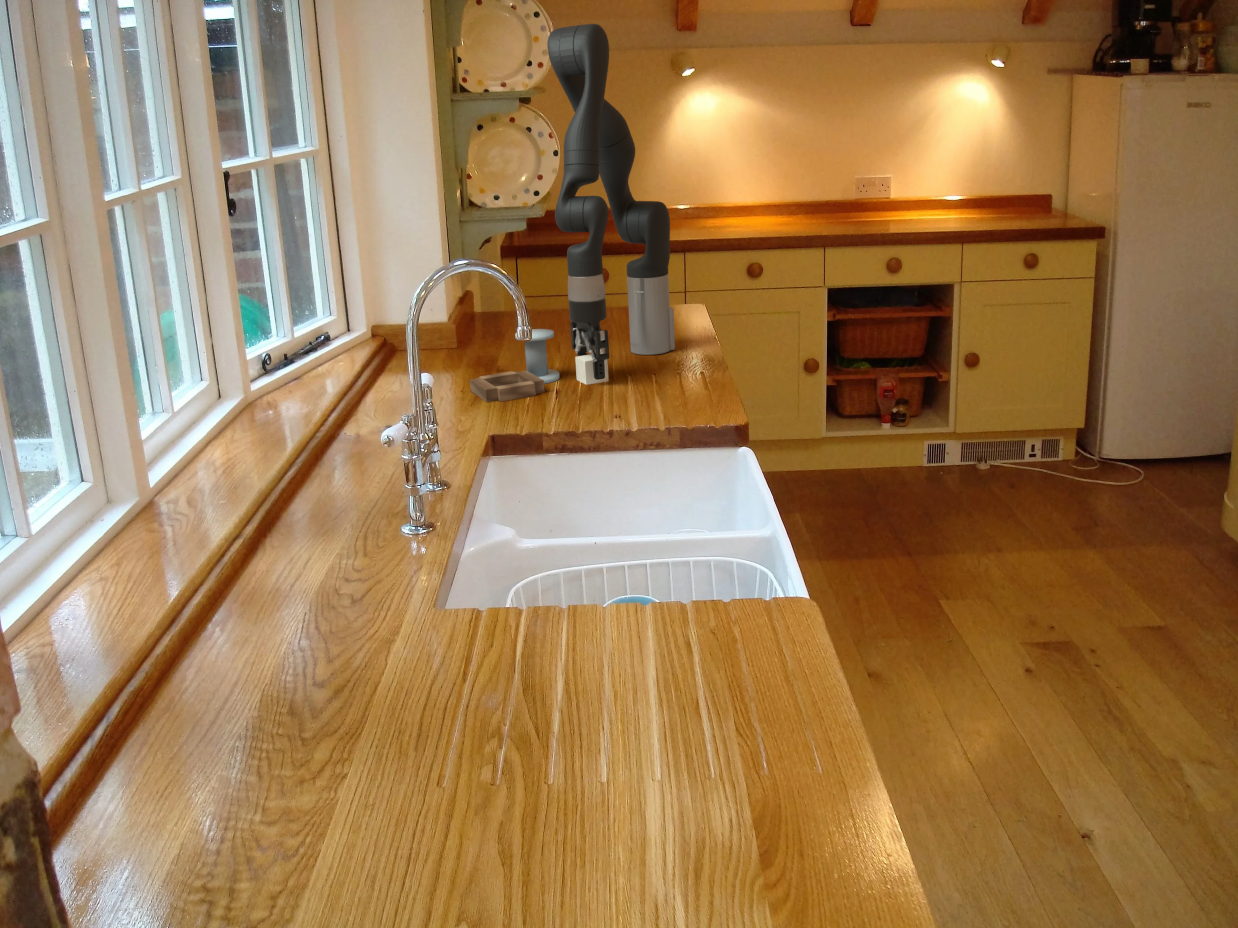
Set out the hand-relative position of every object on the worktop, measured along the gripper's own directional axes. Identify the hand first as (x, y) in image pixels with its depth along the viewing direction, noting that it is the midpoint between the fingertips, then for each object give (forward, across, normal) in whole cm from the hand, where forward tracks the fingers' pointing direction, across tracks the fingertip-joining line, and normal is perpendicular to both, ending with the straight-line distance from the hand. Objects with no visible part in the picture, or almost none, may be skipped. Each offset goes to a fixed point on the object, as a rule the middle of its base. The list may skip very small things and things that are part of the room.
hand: (591, 375), depth 251 cm
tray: (+1, +2, +18) cm, 18 cm away
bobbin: (+1, +8, +9) cm, 12 cm away
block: (+1, 0, 0) cm, 1 cm away
